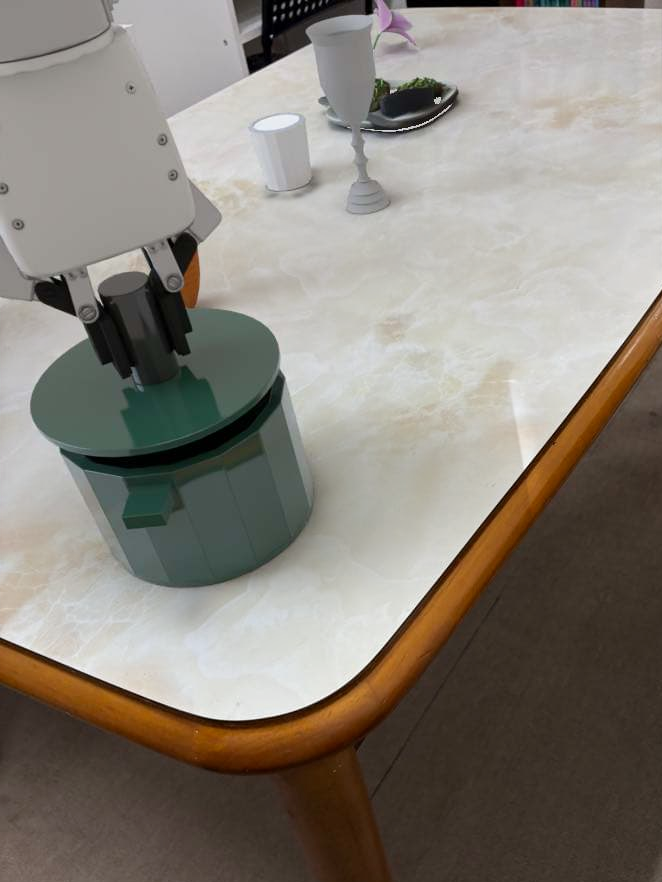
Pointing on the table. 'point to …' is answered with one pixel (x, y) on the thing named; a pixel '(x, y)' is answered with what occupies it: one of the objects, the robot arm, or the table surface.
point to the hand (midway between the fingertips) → (149, 354)
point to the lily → (391, 21)
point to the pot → (204, 498)
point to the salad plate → (402, 104)
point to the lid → (154, 378)
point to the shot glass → (282, 150)
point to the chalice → (350, 92)
